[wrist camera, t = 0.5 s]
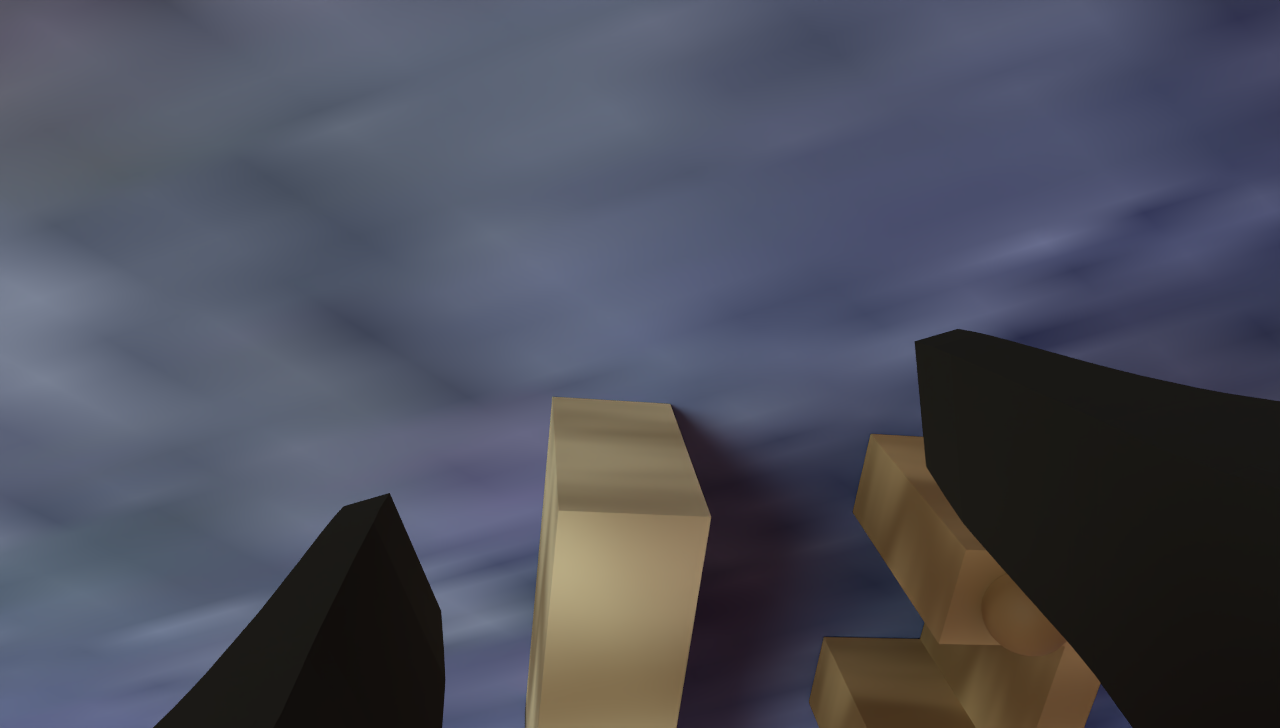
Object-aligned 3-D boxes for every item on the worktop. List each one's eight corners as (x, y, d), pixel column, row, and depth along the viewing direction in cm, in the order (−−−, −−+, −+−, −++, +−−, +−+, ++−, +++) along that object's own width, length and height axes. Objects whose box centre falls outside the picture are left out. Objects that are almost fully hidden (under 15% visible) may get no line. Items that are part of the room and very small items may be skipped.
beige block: (627, 713, 26) (650, 883, 21) (525, 712, 25) (523, 886, 20) (670, 403, 22) (711, 517, 17) (552, 396, 22) (558, 510, 17)
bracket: (938, 703, 27) (1062, 910, 21) (808, 701, 26) (895, 915, 20) (1016, 442, 24) (1190, 592, 17) (870, 433, 23) (997, 587, 17)
